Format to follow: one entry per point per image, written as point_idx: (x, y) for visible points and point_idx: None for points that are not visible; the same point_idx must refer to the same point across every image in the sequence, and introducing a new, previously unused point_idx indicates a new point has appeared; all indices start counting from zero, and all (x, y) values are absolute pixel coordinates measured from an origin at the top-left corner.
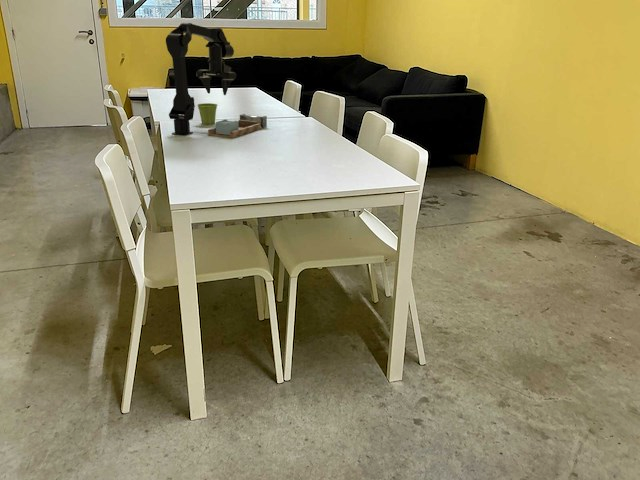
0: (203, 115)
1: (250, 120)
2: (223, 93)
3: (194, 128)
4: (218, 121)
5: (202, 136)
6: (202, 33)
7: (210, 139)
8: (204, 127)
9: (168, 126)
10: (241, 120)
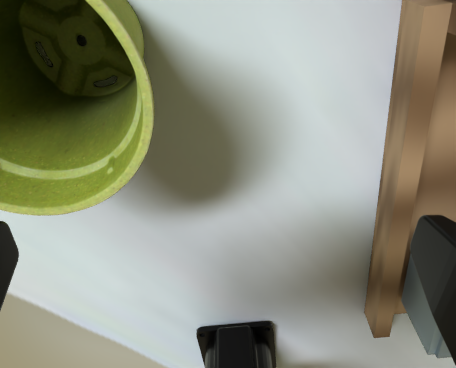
0: (83, 138)
1: None
2: (423, 282)
3: (176, 239)
4: (442, 345)
5: (351, 335)
6: None
7: (417, 351)
8: (200, 186)
9: (17, 276)
10: None
